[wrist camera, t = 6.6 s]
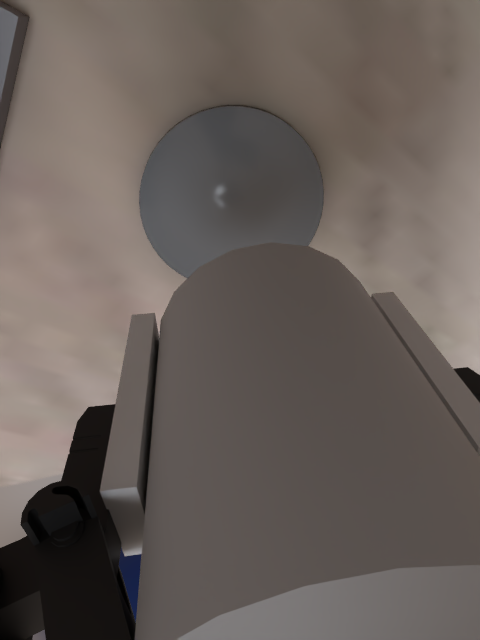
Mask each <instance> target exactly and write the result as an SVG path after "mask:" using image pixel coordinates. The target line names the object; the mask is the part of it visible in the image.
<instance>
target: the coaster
mask: <svg viewBox="0 0 480 640" xmlns="http://www.w3.org/2000/svg"><path fill="white" fill-rule="evenodd" d="M323 196H324V190H323V182H322V176H321V172H320V169H319V166H318V163H317V161H316V158H315V156H314V154H313V153H312V151H311V149H310V148H309V146H308V144H307V143H306V142H305V141H304V139H303V138H302V137H301V136H300V135H299V134H298V133H297V132H296V131H295V130H294V129H293V128H292V127H291V126H290V125H288V124H287V123H286V122H284V121H283V120H281V119H280V118H278V117H276V116H274V115H272V114H270V113H268V112H266V111H263V110H260V109H257V108H253V107H247V106H235V105H227V106H219V107H213V108H209V109H206V110H202V111H200V112H197V113H195V114H193V115H191V116H189V117H187V118H186V119H184V120H182V121H181V122H179V123H178V124H176V125H175V126H174V127H173V128H172V129H171V130H169V131H168V132H167V133H166V134H165V136H164V137H163V138H162V139H161V140H160V141H159V142H158V144H157V146H156V147H155V149H154V150H153V152H152V153H151V155H150V157H149V160H148V162H147V164H146V167H145V170H144V173H143V176H142V180H141V186H140V197H139V205H140V215H141V219H142V223H143V227H144V230H145V232H146V235H147V237H148V239H149V241H150V243H151V245H152V246H153V248H154V249H155V251H156V252H157V253H158V255H159V256H160V257H161V258H162V259H163V260H164V261H165V263H166V264H167V265H169V266H170V267H171V268H172V269H174V270H175V271H176V272H178V273H179V274H181V275H182V276H184V277H186V278H189V277H190V276H191V275H192V274H193V273H194V272H195V271H196V270H197V269H198V268H199V267H200V266H202V265H204V264H206V263H208V262H210V261H212V260H214V259H216V258H218V257H219V256H221V255H223V254H225V253H227V252H229V251H231V250H234V249H239V248H244V247H249V246H254V245H259V244H264V243H269V242H273V243H282V244H292V245H302V246H308V245H309V244H310V242H311V240H312V238H313V237H314V235H315V232H316V230H317V228H318V225H319V222H320V218H321V215H322V209H323Z"/></svg>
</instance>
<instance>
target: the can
mask: <svg viewBox="0 0 480 640" xmlns="http://www.w3.org/2000/svg"><path fill="white" fill-rule="evenodd" d="M135 640H480V456H479V455H478V454H477V452H476V451H475V449H474V448H473V446H472V445H471V443H470V442H469V440H468V439H467V437H466V436H465V435H464V433H463V432H462V430H461V429H460V427H459V426H458V424H457V423H456V421H455V420H454V418H453V417H452V416H451V414H450V413H449V411H448V410H447V408H446V407H445V405H444V404H443V402H442V401H441V400H440V398H439V397H438V395H437V394H436V392H435V391H434V389H433V388H432V386H431V385H430V383H429V382H428V381H427V379H426V378H425V376H424V375H423V373H422V372H421V370H420V369H419V367H418V366H417V365H416V363H415V362H414V360H413V359H412V357H411V356H410V354H409V353H408V351H407V350H406V348H405V347H404V346H403V344H402V343H401V341H400V340H399V338H398V337H397V335H396V334H395V332H394V331H393V329H392V328H391V327H390V325H389V324H388V322H387V321H386V319H385V318H384V316H383V315H382V313H381V312H380V311H379V309H378V308H377V306H376V305H375V303H374V302H373V300H372V299H371V297H370V296H369V294H368V293H367V292H366V290H365V289H364V287H363V286H362V284H361V283H360V281H359V280H358V279H357V278H356V277H355V276H354V275H353V274H352V273H351V272H350V271H349V270H348V269H347V268H346V267H345V266H344V265H343V264H342V263H341V262H340V261H339V260H337V259H335V258H333V257H331V256H328V255H326V254H324V253H322V252H320V251H317V250H315V249H313V248H311V247H309V246H302V245H292V244H282V243H273V242H269V243H264V244H259V245H254V246H249V247H244V248H239V249H234V250H231V251H229V252H227V253H225V254H223V255H221V256H219V257H218V258H216V259H214V260H212V261H210V262H208V263H206V264H204V265H202V266H200V267H199V268H198V269H197V270H196V271H195V272H194V273H193V274H192V275H191V276H190V277H189V278H188V279H187V280H186V281H185V282H184V283H183V284H182V285H181V286H180V287H179V288H178V289H177V290H176V291H175V292H174V293H173V296H172V298H171V300H170V302H169V304H168V306H167V308H166V310H165V312H164V315H163V317H162V319H161V326H160V338H159V350H158V362H157V374H156V386H155V399H154V411H153V423H152V435H151V447H150V459H149V471H148V484H147V496H146V508H145V520H144V532H143V544H142V557H141V569H140V581H139V593H138V605H137V618H136V629H135Z"/></svg>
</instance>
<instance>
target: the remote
mask: <svg viewBox="0 0 480 640" xmlns="http://www.w3.org/2000/svg"><path fill="white" fill-rule="evenodd" d="M28 21H29V17H28V16H26V15H25V14H23V13H21V12H19V11H17V10H16V9H14V8H12V7H10V6H9V5H7V4H5V3H3V2H1V1H0V147H1V142H2V138H3V133H4V129H5V124H6V120H7V115H8V111H9V106H10V102H11V97H12V93H13V88H14V84H15V79H16V75H17V70H18V66H19V61H20V57H21V52H22V48H23V44H24V39H25V35H26V30H27V26H28Z"/></svg>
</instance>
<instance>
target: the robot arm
mask: <svg viewBox="0 0 480 640" xmlns="http://www.w3.org/2000/svg"><path fill="white" fill-rule="evenodd" d="M371 299H372V300H373V302H374V303H375V305H376V306H377V308H378V309H379V311H380V312H381V313H382V315H383V316H384V318H385V319H386V321H387V322H388V324H389V325H390V327H391V328H392V329H393V331H394V332H395V334H396V335H397V337H398V338H399V340H400V341H401V343H402V344H403V346H404V347H405V348H406V350H407V351H408V353H409V354H410V356H411V357H412V359H413V360H414V362H415V363H416V365H417V366H418V367H419V369H420V370H421V372H422V373H423V375H424V376H425V378H426V379H427V381H428V382H429V383H430V385H431V386H432V388H433V389H434V391H435V392H436V394H437V395H438V397H439V398H440V400H441V401H442V402H443V404H444V405H445V407H446V408H447V410H448V411H449V413H450V414H451V416H452V417H453V418H454V420H455V421H456V423H457V424H458V426H459V427H460V429H461V430H462V432H463V433H464V435H465V436H466V437H467V439H468V440H469V442H470V443H471V445H472V446H473V448H474V449H475V451H476V452H477V454H478V455H479V456H480V375H479V374H477V373H476V372H474V371H473V370H471V369H470V368H468V367H466V368H456V369H453V368H452V367H451V365H450V364H449V363H448V362H447V360H446V359H445V358H444V357H443V355H442V354H441V353H440V351H439V350H438V349H437V348H436V346H435V345H434V344H433V342H432V341H431V340H430V339H429V337H428V336H427V335H426V333H425V332H424V331H423V330H422V328H421V327H420V326H419V325H418V323H417V322H416V321H415V319H414V318H413V317H412V316H411V314H410V313H409V312H408V310H407V309H406V308H405V307H404V305H403V304H402V303H401V302H400V300H399V299H398V298H397V296H396V295H395V294H394V293H393V292H387V293H376V294H372V297H371ZM158 350H159V334H158V329H157V323H156V318H155V313H149V314H138V315H132V317H131V323H130V328H129V334H128V339H127V345H126V350H125V355H124V361H123V366H122V372H121V377H120V383H119V388H118V394H117V399H116V404H113V405H104V406H94V407H88V408H87V410H86V411H85V412H84V414H83V415H82V416H81V418H80V419H79V420H78V422H77V425H76V429H75V432H74V436H73V441H72V443H71V447H70V454H68V458H67V462H66V465H65V469H64V473H63V476H62V480H61V481H59V482H55V483H52V484H50V485H48V486H46V487H44V488H43V489H41V490H39V491H38V492H37V493H36V494H35V495H34V496H33V497H32V498H31V499H30V500H29V501H28V503H27V505H26V507H25V509H24V510H23V512H22V518H21V526H22V528H23V529H24V530H25V532H26V534H27V536H26V537H24V538H22V539H21V540H18V541H16V542H13V543H11V544H9V545H6V546H4V547H2V548H0V640H32V637H33V635H34V634H36V633H38V632H40V631H42V630H44V629H45V635H46V640H135V629H136V622H135V619H134V615H133V612H132V608H131V605H130V601H129V598H128V594H127V591H126V587H125V584H124V580H123V577H122V573H121V571H120V568H119V559H120V551H121V547H122V550H123V552H124V555H125V556H129V555H136V554H142V544H143V532H144V520H145V508H146V496H147V484H148V471H149V459H150V447H151V435H152V423H153V411H154V399H155V386H156V374H157V362H158Z"/></svg>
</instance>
